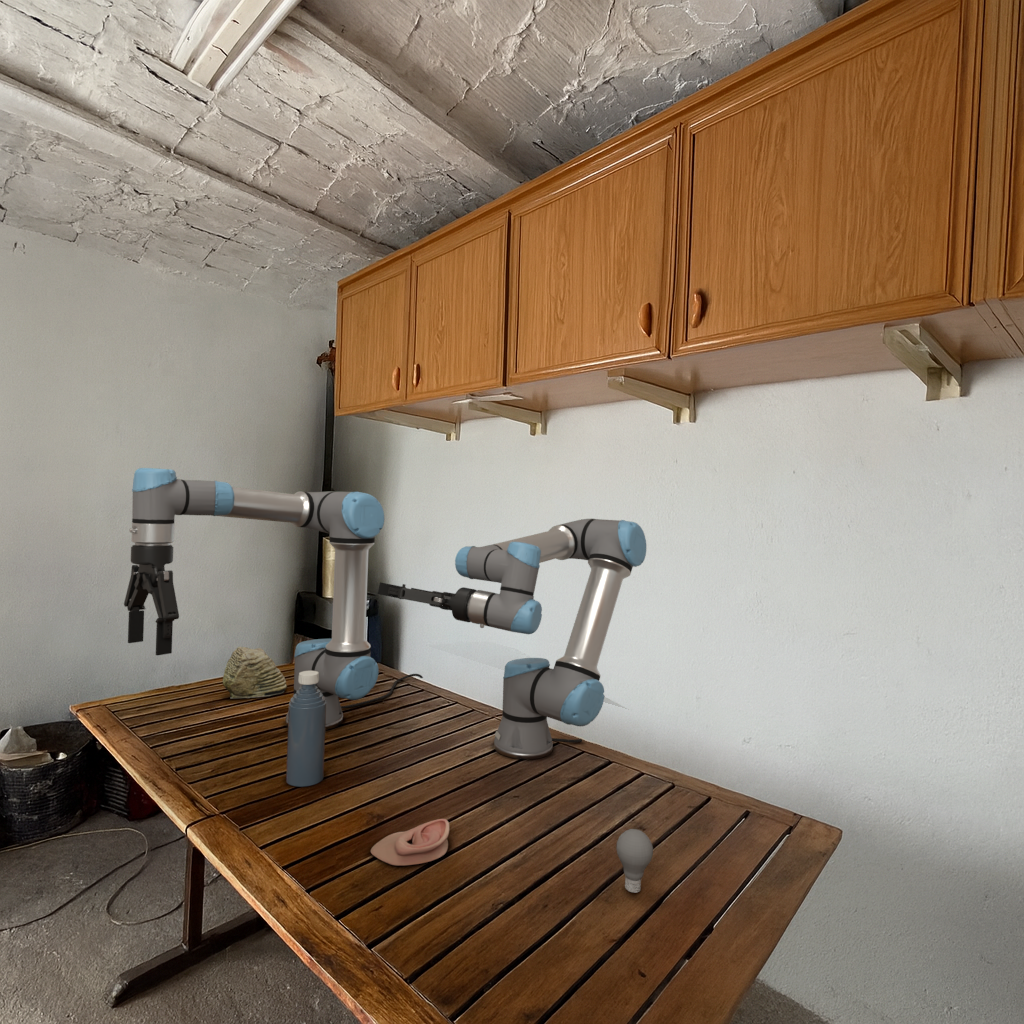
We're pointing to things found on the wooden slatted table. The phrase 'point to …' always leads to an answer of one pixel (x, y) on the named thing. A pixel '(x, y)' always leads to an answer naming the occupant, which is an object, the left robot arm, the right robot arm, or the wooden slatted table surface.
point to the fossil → (252, 674)
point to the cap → (308, 677)
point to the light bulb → (634, 857)
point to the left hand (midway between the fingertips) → (149, 648)
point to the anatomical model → (414, 844)
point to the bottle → (306, 737)
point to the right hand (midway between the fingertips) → (395, 590)
